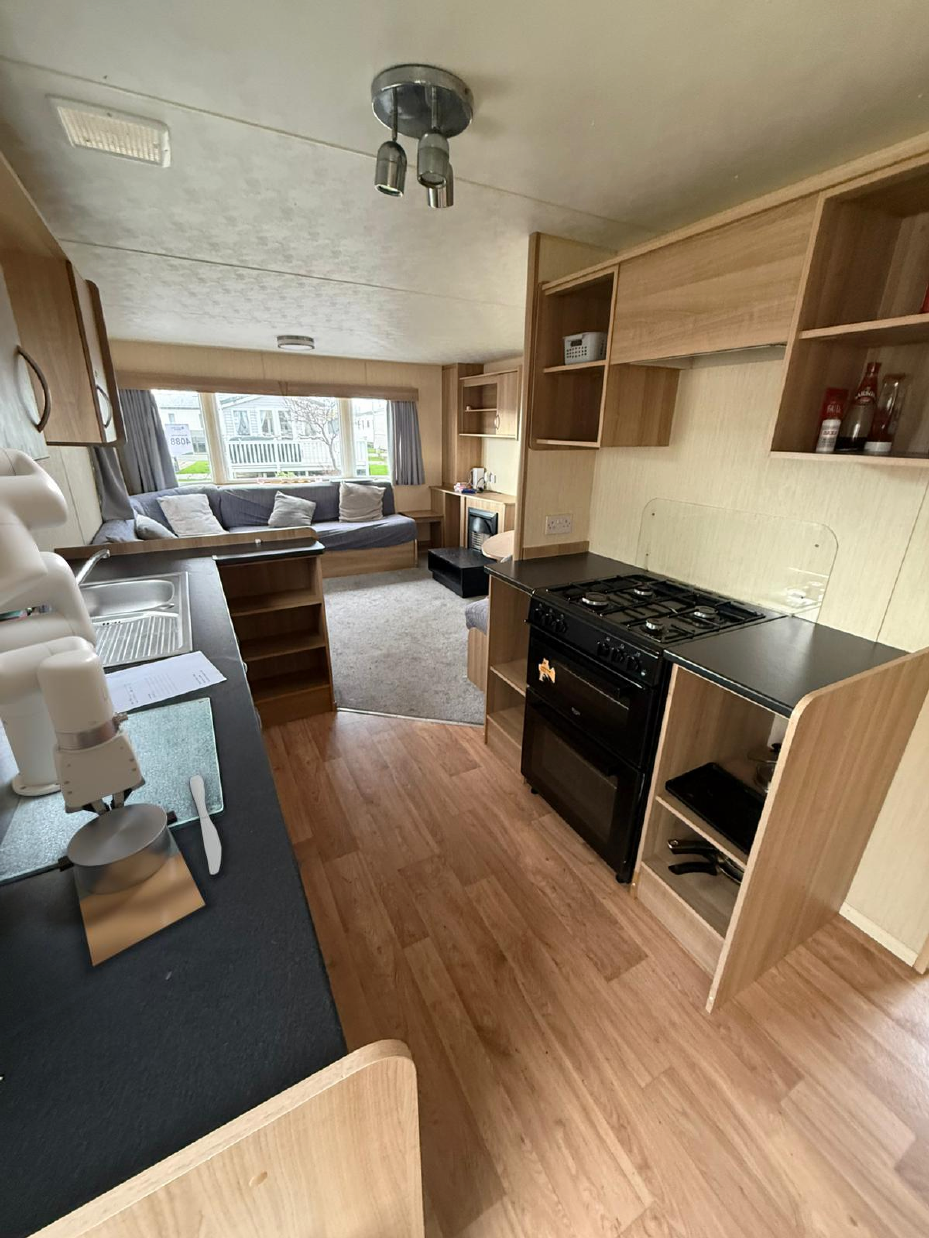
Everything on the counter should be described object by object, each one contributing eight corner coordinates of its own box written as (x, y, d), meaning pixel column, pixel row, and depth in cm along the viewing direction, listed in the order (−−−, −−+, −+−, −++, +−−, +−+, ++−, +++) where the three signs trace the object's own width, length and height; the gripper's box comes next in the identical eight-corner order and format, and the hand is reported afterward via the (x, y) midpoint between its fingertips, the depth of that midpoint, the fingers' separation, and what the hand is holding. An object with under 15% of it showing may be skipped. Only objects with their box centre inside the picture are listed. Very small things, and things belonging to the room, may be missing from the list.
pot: (62, 862, 77) (51, 833, 75) (170, 816, 86) (164, 789, 84) (72, 917, 68) (61, 886, 66) (192, 859, 78) (185, 830, 76)
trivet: (79, 902, 71) (79, 900, 71) (180, 854, 79) (180, 852, 79) (93, 967, 62) (93, 966, 62) (205, 906, 70) (205, 904, 70)
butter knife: (206, 771, 97) (188, 776, 96) (227, 869, 76) (205, 876, 74) (206, 774, 97) (189, 778, 96) (227, 872, 76) (205, 879, 75)
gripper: (139, 705, 83) (161, 795, 90) (22, 738, 74) (56, 837, 80) (150, 723, 78) (172, 817, 85) (26, 762, 69) (61, 865, 75)
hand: (115, 826), depth 82 cm, fingers closed
